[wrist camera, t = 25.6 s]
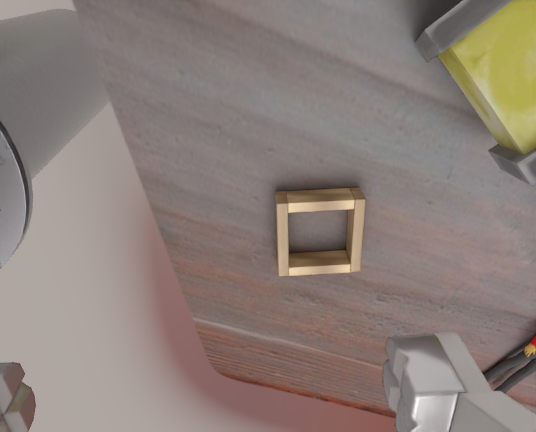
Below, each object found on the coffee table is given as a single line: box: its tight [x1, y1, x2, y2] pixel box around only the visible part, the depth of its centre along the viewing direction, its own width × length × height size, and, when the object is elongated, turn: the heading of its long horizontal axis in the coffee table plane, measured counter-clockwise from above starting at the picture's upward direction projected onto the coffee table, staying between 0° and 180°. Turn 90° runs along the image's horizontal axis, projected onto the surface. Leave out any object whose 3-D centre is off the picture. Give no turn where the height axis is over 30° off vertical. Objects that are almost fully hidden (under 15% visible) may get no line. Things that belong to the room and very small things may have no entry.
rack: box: [275, 187, 366, 276], centre depth 43 cm, size 8×8×2 cm
